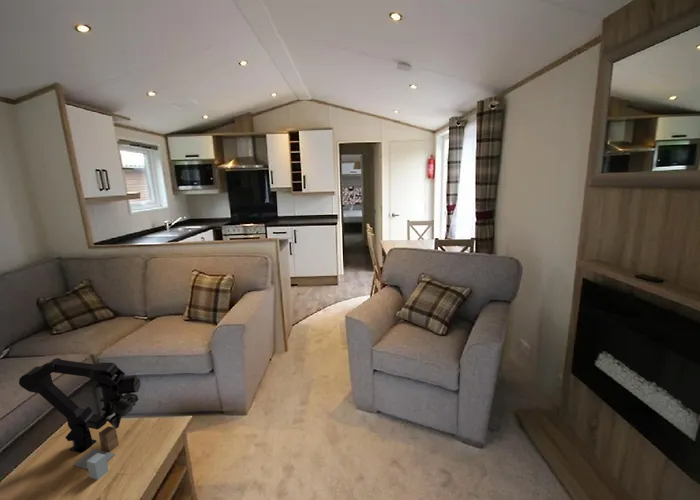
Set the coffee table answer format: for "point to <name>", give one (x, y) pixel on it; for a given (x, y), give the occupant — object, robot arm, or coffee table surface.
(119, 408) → the robot arm
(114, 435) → the walnut block
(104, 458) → the bluegrey block
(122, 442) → the coffee table surface
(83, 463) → the felt mat
